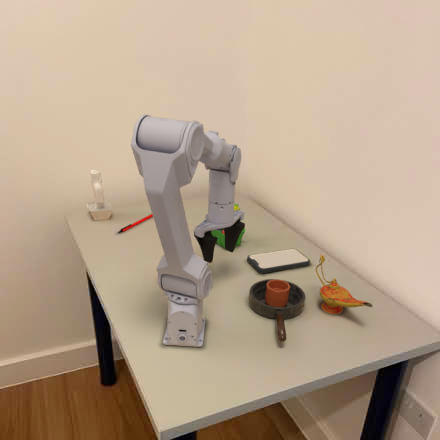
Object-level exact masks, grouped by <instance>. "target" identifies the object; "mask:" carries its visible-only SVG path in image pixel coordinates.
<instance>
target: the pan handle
mask: <svg viewBox="0 0 440 440" xmlns="http://www.w3.org/2000/svg"><path fill="white" fill-rule="evenodd" d="M275 322H276V323H275V324H276V332H277V339H278V341H279V342H280V343H285V342H286V341H287V331H286V324H285V319H284V316H283V312H282V310H276V319H275Z"/></svg>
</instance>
